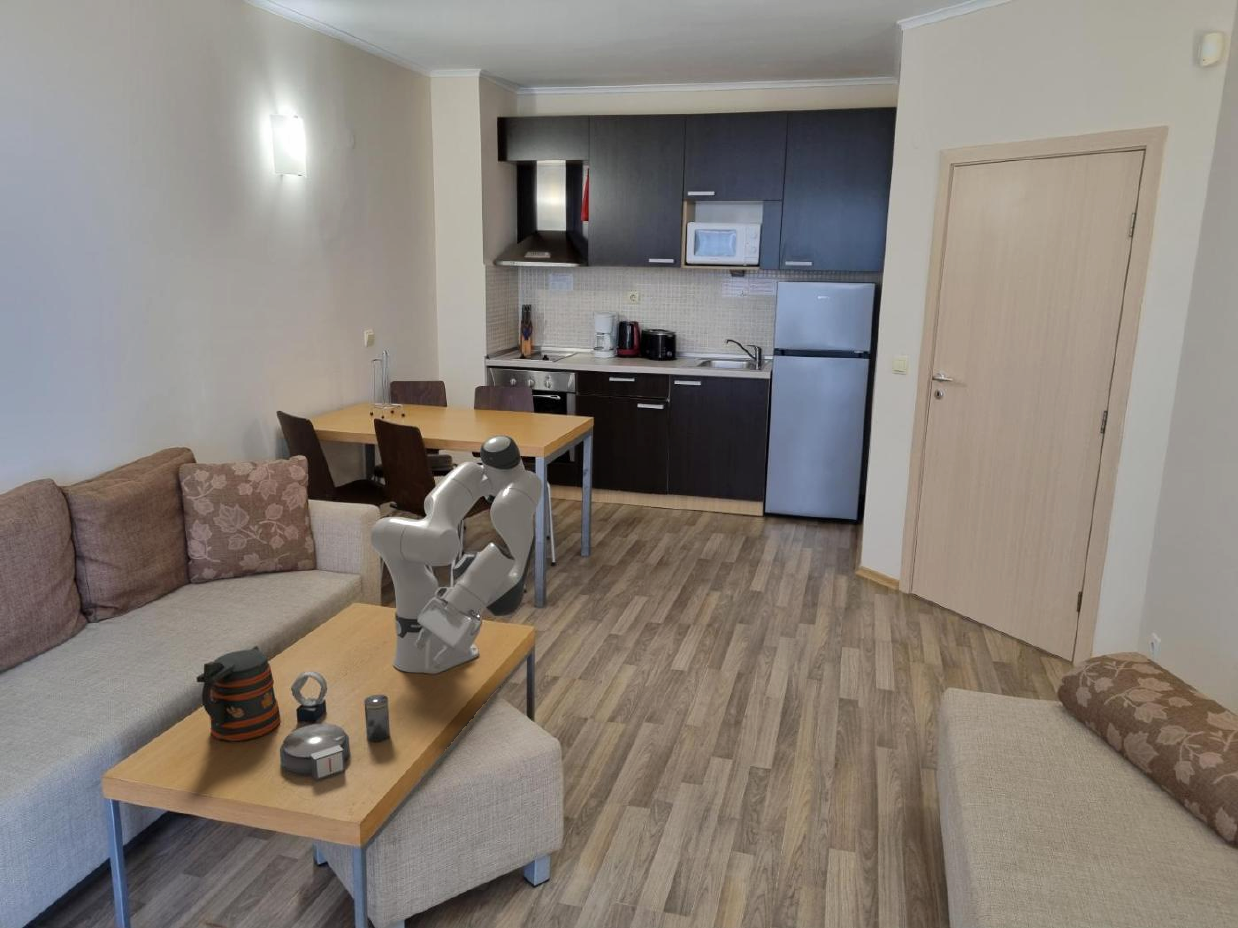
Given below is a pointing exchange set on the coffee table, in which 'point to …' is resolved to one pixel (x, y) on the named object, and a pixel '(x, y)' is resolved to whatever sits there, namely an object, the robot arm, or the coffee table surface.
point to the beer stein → (240, 695)
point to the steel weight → (377, 718)
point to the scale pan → (313, 740)
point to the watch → (311, 706)
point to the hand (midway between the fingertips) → (426, 654)
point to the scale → (318, 762)
